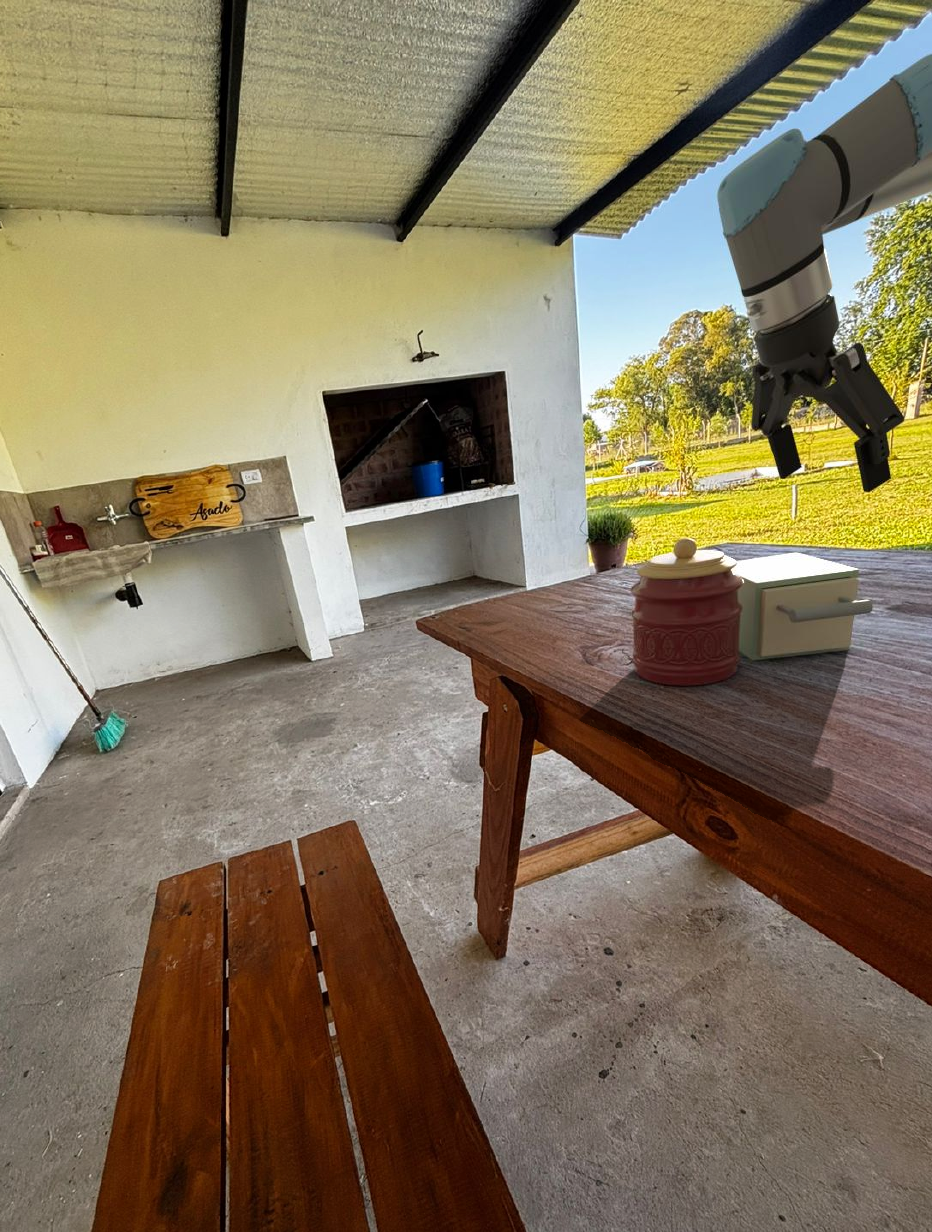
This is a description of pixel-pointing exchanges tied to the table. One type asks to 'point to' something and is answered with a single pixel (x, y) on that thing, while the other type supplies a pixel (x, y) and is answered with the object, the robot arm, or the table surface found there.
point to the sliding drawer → (809, 616)
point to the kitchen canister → (687, 617)
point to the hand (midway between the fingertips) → (830, 478)
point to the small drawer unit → (771, 575)
